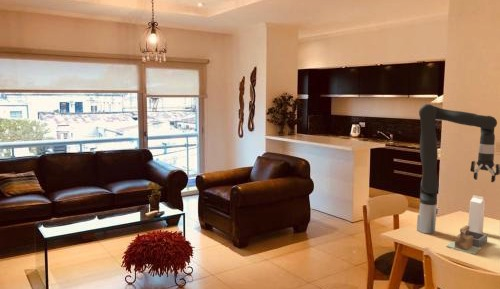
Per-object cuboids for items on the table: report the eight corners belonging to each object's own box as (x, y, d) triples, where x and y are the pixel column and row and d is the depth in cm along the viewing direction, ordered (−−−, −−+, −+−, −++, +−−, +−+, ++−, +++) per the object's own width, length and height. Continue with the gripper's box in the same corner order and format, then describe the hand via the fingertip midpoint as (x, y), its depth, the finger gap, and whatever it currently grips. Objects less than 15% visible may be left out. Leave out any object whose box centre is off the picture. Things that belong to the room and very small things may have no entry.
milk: (478, 234, 239) (481, 198, 236) (467, 231, 244) (470, 195, 241) (482, 232, 243) (485, 196, 240) (472, 229, 248) (475, 194, 244)
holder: (458, 242, 227) (459, 235, 227) (467, 236, 236) (467, 230, 235) (478, 247, 220) (479, 240, 219) (487, 241, 228) (487, 234, 227)
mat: (446, 246, 221) (446, 245, 221) (453, 242, 227) (453, 241, 227) (474, 254, 210) (474, 253, 210) (481, 249, 217) (481, 248, 217)
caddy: (454, 247, 218) (455, 227, 217) (460, 243, 224) (462, 224, 222) (466, 250, 214) (468, 230, 212) (472, 246, 219) (474, 227, 218)
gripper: (470, 151, 230) (467, 179, 232) (498, 154, 220) (495, 184, 222) (475, 150, 235) (473, 177, 237) (503, 152, 225) (500, 181, 227)
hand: (484, 180), depth 230 cm, fingers open, 8 cm apart
